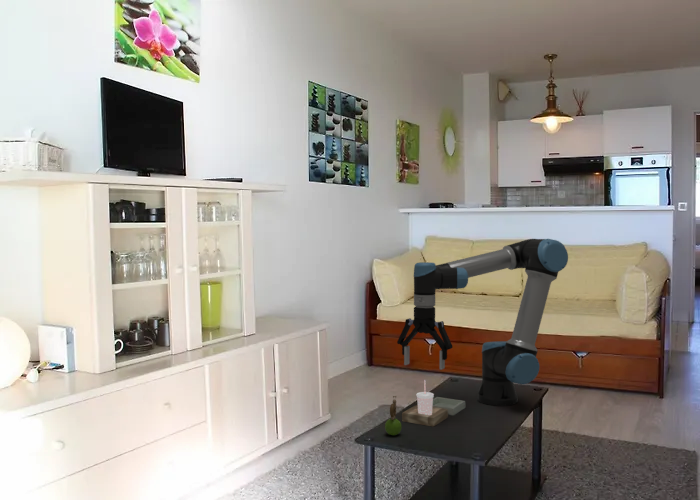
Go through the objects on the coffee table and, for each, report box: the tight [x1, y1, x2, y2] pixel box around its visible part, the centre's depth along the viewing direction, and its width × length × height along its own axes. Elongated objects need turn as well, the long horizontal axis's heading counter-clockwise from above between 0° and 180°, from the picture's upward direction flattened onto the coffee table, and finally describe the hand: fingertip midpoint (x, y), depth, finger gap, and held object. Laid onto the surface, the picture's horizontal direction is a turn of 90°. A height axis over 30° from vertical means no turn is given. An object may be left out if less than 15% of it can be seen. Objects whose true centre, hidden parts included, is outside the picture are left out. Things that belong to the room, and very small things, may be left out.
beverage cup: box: [415, 379, 435, 415], centre depth 225 cm, size 6×6×14 cm
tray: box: [432, 396, 466, 416], centre depth 237 cm, size 12×12×2 cm
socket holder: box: [401, 403, 449, 427], centre depth 225 cm, size 12×12×3 cm
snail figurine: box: [384, 395, 402, 436], centre depth 209 cm, size 5×6×12 cm
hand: (424, 366), depth 224 cm, fingers open, 13 cm apart
